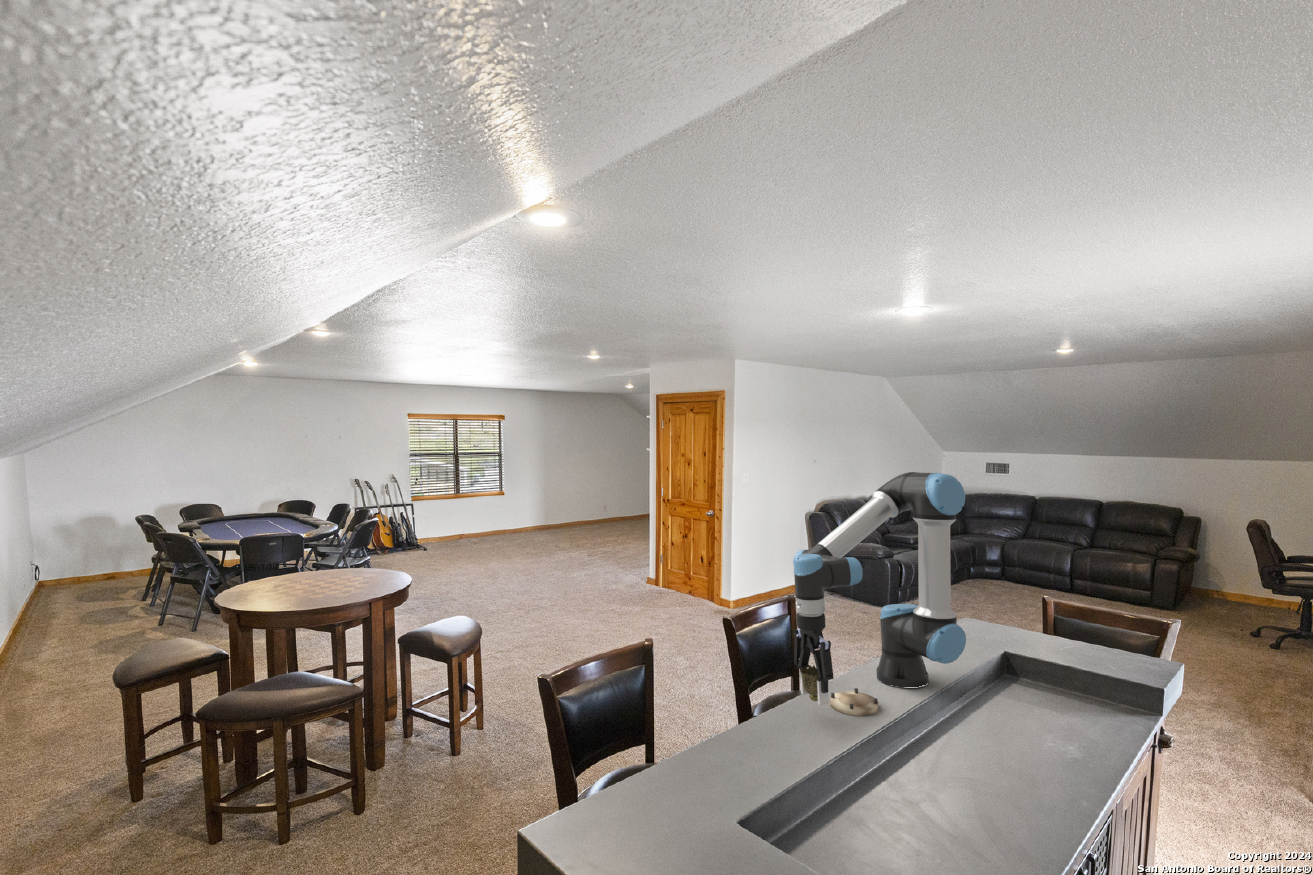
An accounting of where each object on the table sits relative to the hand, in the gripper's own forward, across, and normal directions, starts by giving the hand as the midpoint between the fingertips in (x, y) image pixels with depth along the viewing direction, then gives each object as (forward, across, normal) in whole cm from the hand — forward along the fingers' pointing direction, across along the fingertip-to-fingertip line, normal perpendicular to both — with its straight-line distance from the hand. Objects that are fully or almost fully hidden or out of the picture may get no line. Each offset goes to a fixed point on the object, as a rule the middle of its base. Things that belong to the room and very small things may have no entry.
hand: (814, 698), depth 168 cm
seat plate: (+6, -3, +15) cm, 17 cm away
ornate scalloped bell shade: (0, 0, 0) cm, 1 cm away
